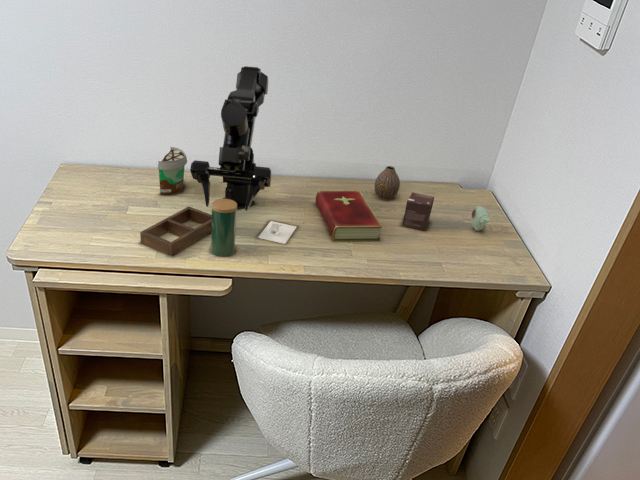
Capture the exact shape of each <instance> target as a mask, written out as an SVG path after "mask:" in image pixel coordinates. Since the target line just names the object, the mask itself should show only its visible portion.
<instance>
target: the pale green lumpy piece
mask: <svg viewBox="0 0 640 480" xmlns="http://www.w3.org/2000/svg"><path fill="white" fill-rule="evenodd" d="M470 219H471V224H472V227H473V228H474V230H475V231H476V232H477V231H478V232H479V231H481V230H483V229H484V228H485V226H486V225H487V224H489V223H490V222H491V220H490V212H489V210H488V209H487V208H486V207H485V206H484V205H478V206H476V207H475V208H473V210H472V212H471V218H470Z"/></svg>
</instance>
